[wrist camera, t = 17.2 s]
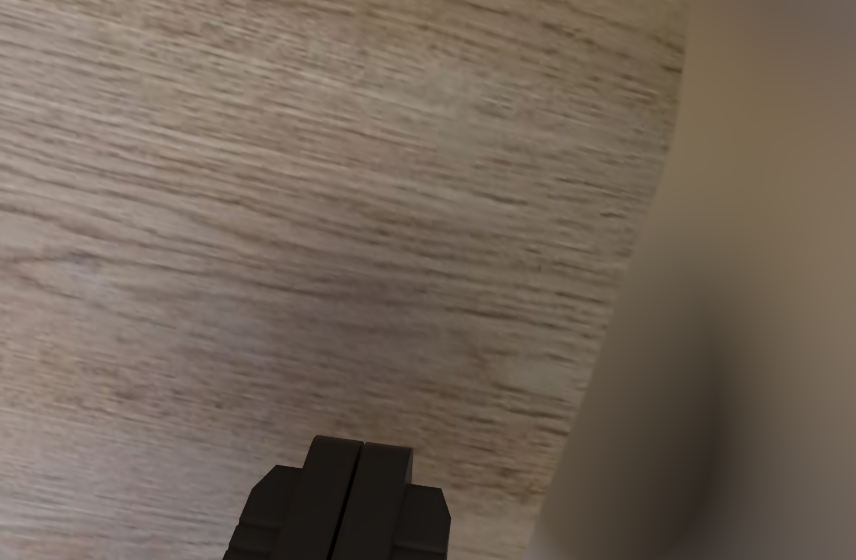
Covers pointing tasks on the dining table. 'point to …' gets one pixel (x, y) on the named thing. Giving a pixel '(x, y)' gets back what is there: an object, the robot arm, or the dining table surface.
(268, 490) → the robot arm
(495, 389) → the dining table surface
